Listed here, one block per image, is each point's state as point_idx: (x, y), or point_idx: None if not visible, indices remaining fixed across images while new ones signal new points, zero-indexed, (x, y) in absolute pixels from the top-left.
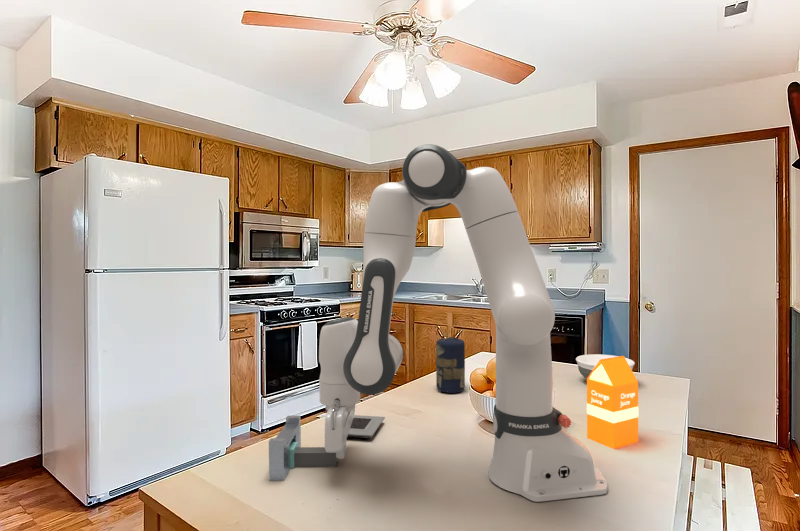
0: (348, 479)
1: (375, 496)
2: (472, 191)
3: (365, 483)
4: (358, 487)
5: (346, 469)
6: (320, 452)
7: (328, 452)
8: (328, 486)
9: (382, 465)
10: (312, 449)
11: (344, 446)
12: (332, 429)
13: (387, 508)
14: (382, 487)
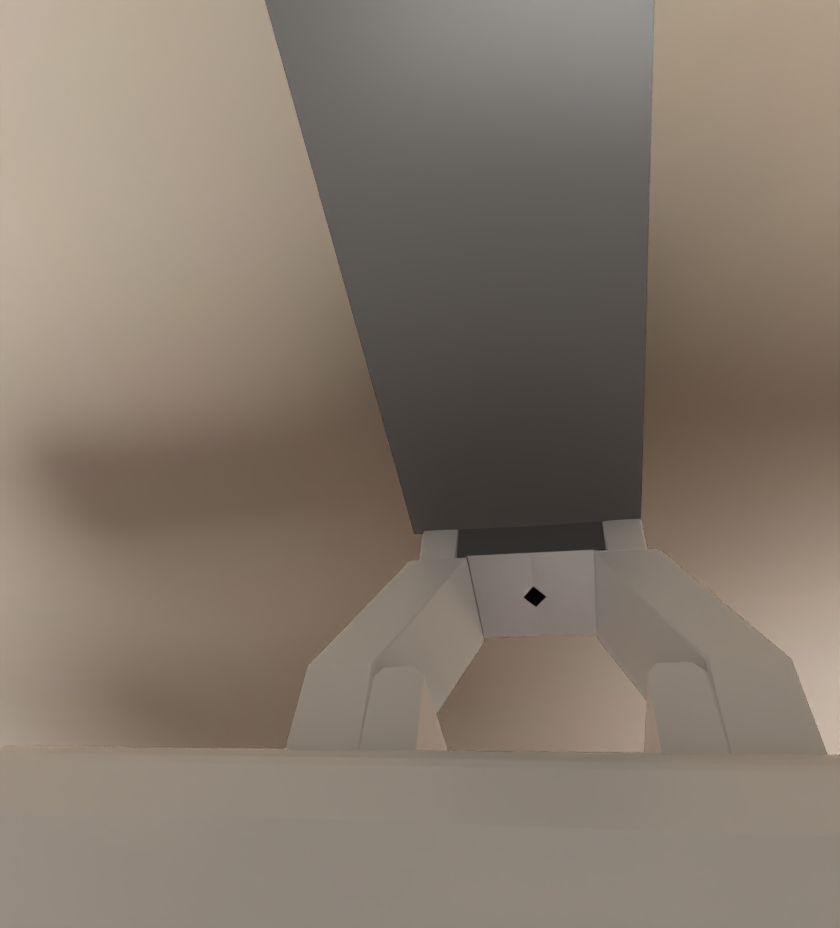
0: (211, 555)
1: (83, 700)
2: None
3: (205, 651)
4: (130, 624)
5: (393, 511)
6: (371, 311)
7: (406, 438)
8: (12, 439)
9: (518, 711)
10: (498, 60)
11: (450, 687)
12: (566, 860)
13: (11, 740)
14: (200, 720)
